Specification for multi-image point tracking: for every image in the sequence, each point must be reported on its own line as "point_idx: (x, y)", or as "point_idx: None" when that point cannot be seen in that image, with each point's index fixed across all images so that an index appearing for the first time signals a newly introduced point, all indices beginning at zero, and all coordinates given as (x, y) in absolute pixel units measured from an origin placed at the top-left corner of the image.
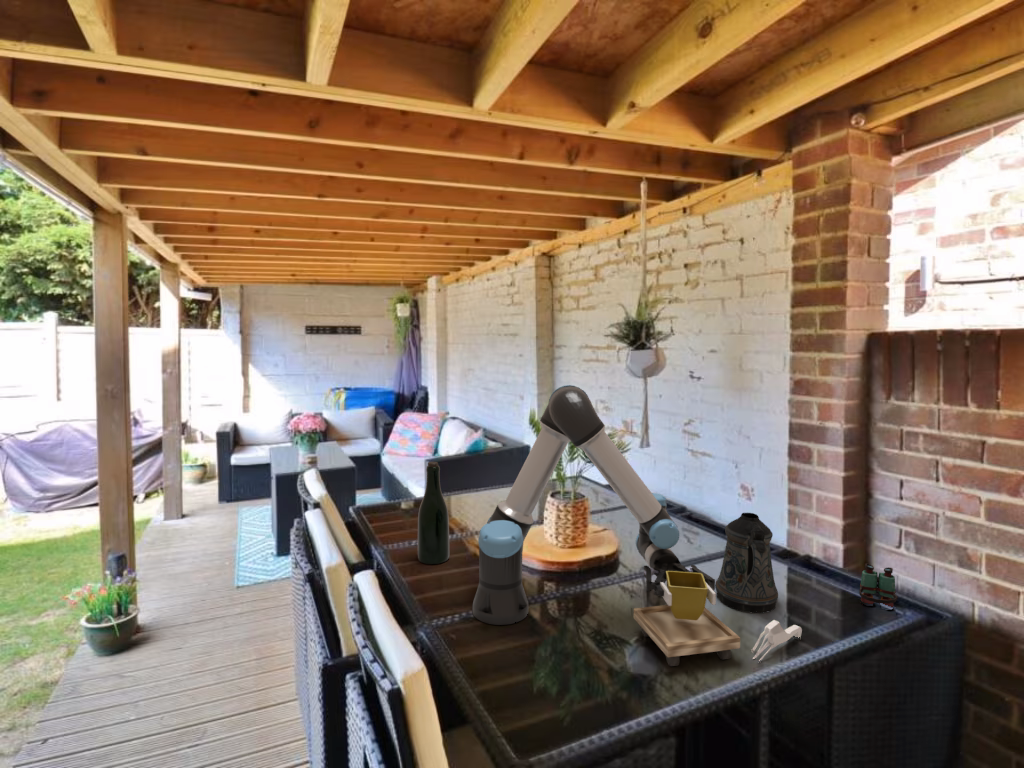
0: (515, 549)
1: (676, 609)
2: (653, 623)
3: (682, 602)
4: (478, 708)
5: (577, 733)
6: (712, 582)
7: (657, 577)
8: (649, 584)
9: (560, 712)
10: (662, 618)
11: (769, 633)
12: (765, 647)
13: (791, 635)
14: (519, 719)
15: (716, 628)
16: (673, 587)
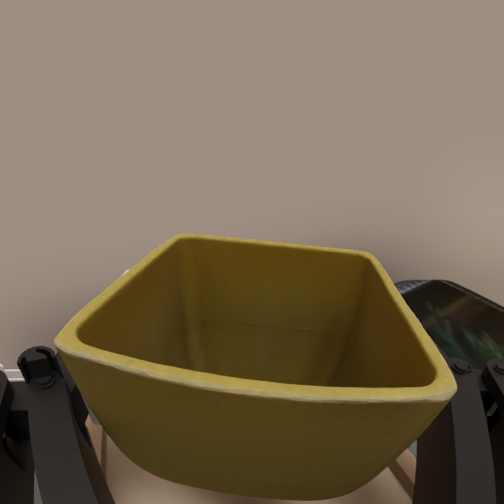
0: None
1: (311, 363)
2: (375, 478)
3: (291, 325)
4: (501, 308)
5: (411, 296)
6: (10, 384)
7: (482, 423)
8: (482, 372)
9: (441, 312)
10: None
11: (4, 371)
12: None
13: None
14: (466, 303)
15: (117, 451)
16: (350, 254)
